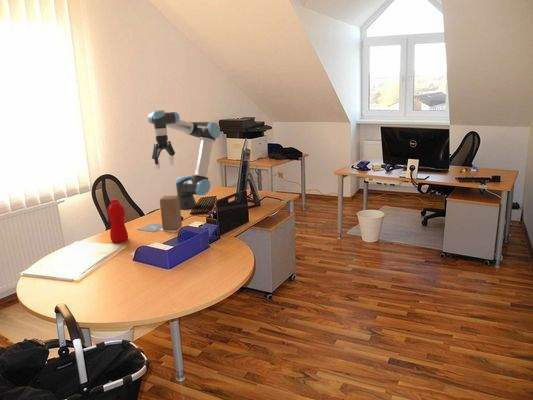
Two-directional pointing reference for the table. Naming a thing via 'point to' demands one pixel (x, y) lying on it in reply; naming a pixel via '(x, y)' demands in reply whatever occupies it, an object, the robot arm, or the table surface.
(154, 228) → the tile
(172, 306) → the table surface
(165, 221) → the block
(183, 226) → the mat
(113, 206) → the water bottle
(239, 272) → the table surface
